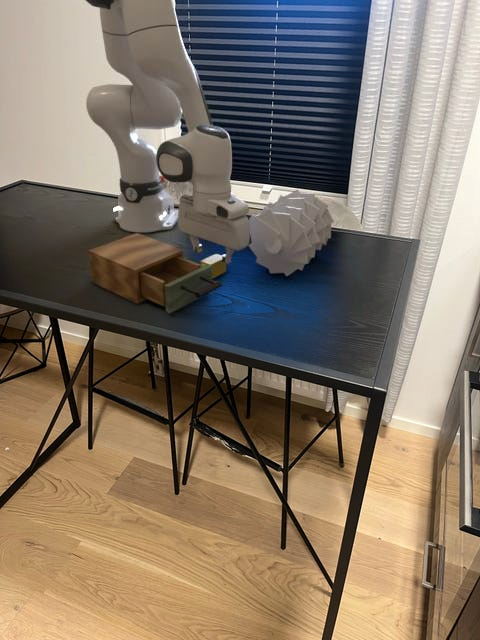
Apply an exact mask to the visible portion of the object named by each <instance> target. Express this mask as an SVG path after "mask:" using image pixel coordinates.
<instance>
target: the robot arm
mask: <svg viewBox="0 0 480 640" xmlns="http://www.w3.org/2000/svg"><path fill="white" fill-rule="evenodd" d="M85 1H86V2H87V3H88V4H89V5H90V6H92V7H95V8H98V9H99V17H100V25H101V32H102V38H103V39H102V41H103V46H104V50H105V58H106V61H107V63H108V65H109V66H110V68H112V69H113V70H114V71H115V72H116V73H118V74H119V75H122V76H123V77H125V78H126V79H127V80H128V81H129V82H130V83H131V84H120V83H119V84H117V83H108V84H102V85H97V86H93V87H92V88H91V89H90V90H89V92H88V93H87V96H86V102H85V106H86V111H87V114H88V116H89V118H90V120H91V121H92V122H93V124H95V125H96V126H97V127H99V128H100V129H102V130H103V131H104V132H105V134H106V135H107V136H108V138H109V139H110V140H111V142H112V143H113V146H114V148H115V151H116V154H117V159H118V166H119V174H120V178H119V183H118V184H119V191H120V192H121V193H119V195H118V196H117V206H115V207H114V208H113V212H116V211H118V215H117V216H116V217H115V222H116V223H117V224H119V225H118V226H119V227H120V229H122V230H124V231H126V232H131V233H153V232H158V231H168V230H173V227H174V226H175V225H176V223H177V228H178V230H179V231H180V232H181V233H185V234H187V235H189V240H190V243H191V245H192V248H193V249H192V251H193V252H194V253H196V254H200V253H202V252H203V245H202V244H201V243H200V239H202V240H206V241H208V242H211V243H214V244H216V245H220V246H223V247H225V248H224V249H225V251H226V253H225V254H222V262H224V263H227V265H228V264H230V263H231V262H232V256H233V254H234V253H235V251H237V252H238V251H241V250H244V249H246V248H247V247H249V246H248V245H249V244H250V240H251V236H250V226H249V218H248V216H247V214H249V212H250V206H249V205H248V204H247V203H246V202H245V201H243V200H242V199H240V198H239V197H237V196H236V194H235V193H233V192H232V184H231V174H232V172H233V171H232V170H233V153H232V152H233V150H232V141H231V137H230V135H229V133H228V131H226V130H225V129H224V128H222V127H220V126H218V125H214V123H213V121H212V117H211V113H210V111H209V106H208V104H207V100H206V96H205V93H204V90H203V86H202V83H201V80H200V77H199V74H198V71H197V69H196V68H195V65H194V64H193V62H192V61H191V60H190V57H189V55H188V53H187V50H186V48H185V44H184V42H183V38H182V35H181V30H180V26H179V22H178V17H177V13H176V10H175V6H174V2H173V0H85ZM182 116H183V118H184V121H185V125H186V128H187V131H188V133H186V134H183V135H181V136H178V137H174V138H171V139H167V140H165V141H163V142H162V143H160V144H159V145H158V148H157V150H156V148H155V147H154V146H153V145H152V144H150V143H149V142H147V141H145V140H143V139H142V138H140V136H138V134H137V132H136V130H165V129H169V128H174V127H176V126H177V125H178V124H179V123H180V121H181V119H182ZM166 181H168V182H169V183H190V184H191V185H192V195H191V194H188V193H184V194H182V195H181V196H180V197H179V206H178V209H177V208H175V202H174V197H173V196H172V195H171V194H170V193H168V192H167V191H166V190H164V186H163V184H165V183H166ZM176 209H177V210H176Z"/></svg>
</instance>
